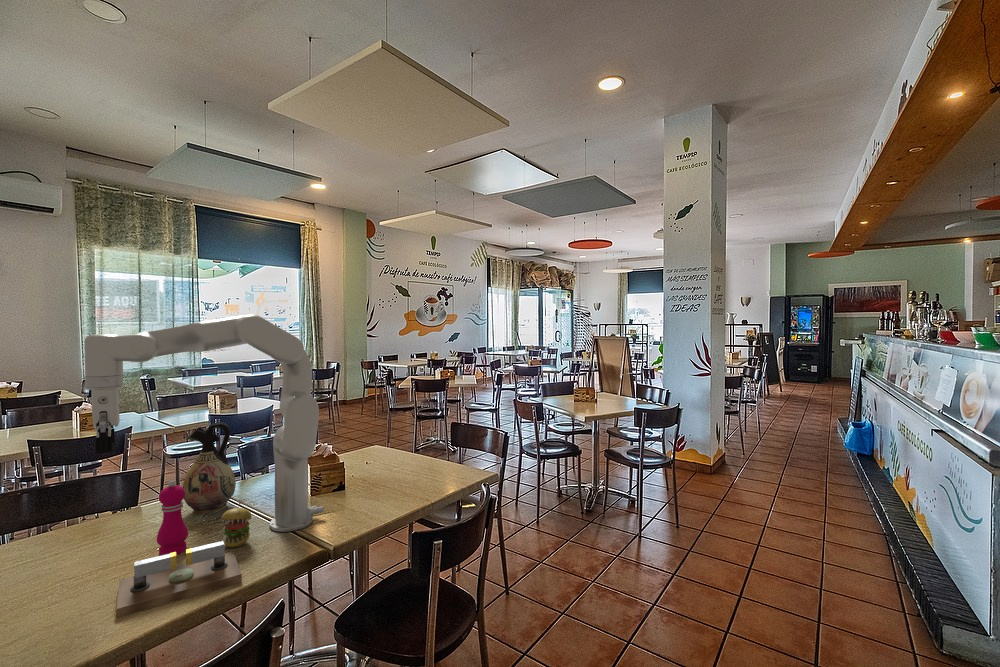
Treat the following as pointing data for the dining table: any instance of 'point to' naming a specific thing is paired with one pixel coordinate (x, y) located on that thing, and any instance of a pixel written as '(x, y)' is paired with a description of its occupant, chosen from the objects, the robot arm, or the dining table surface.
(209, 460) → the ceramic jug
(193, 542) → the dining table surface
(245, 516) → the hamburger
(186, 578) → the level plate
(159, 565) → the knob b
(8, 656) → the dining table surface
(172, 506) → the pepper mill
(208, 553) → the gold-tipped grey bar
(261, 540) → the dining table surface
